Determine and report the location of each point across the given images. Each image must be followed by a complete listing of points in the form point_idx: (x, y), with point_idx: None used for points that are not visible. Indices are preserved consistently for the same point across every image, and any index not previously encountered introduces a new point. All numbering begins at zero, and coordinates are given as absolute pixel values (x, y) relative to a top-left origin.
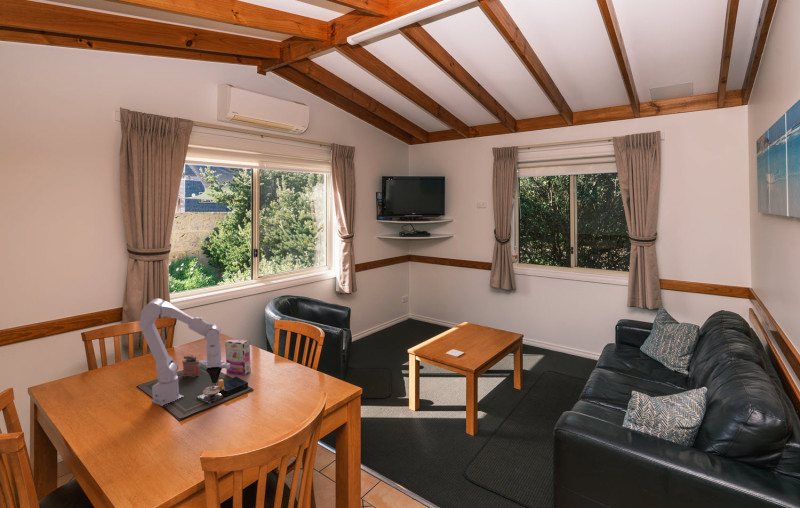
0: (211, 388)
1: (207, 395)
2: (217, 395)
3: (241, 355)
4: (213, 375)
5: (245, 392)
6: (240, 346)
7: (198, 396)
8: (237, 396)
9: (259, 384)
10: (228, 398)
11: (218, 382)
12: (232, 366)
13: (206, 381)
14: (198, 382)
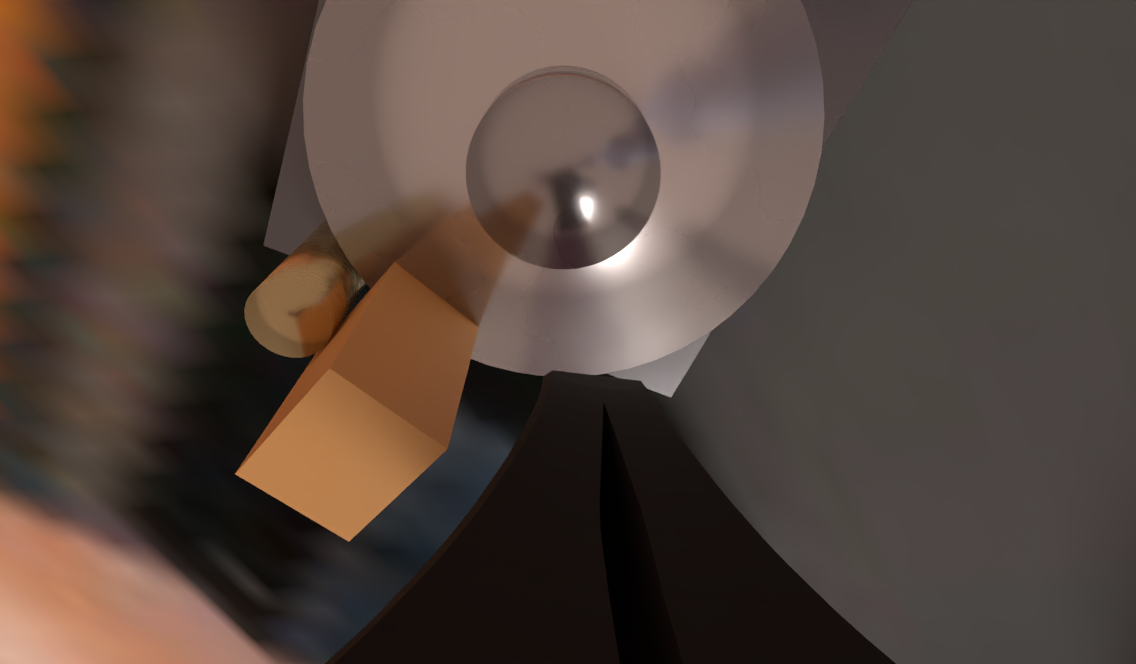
0: (523, 87)
1: None
2: None
3: None
4: (544, 577)
5: (21, 373)
6: None
7: (892, 2)
8: (31, 203)
9: (36, 621)
10: (151, 90)
11: (384, 369)
12: None
13: (949, 637)
14: (1075, 605)
